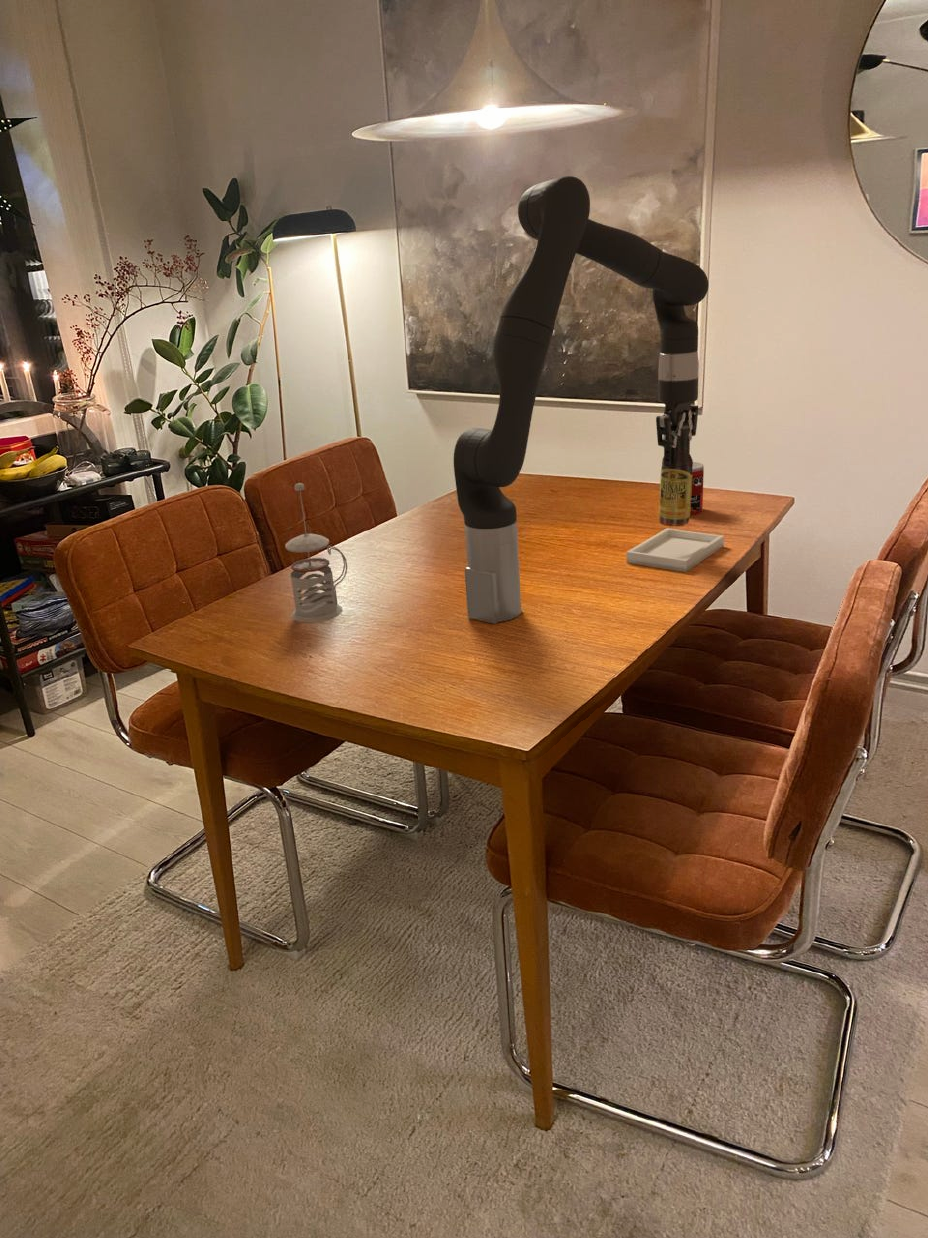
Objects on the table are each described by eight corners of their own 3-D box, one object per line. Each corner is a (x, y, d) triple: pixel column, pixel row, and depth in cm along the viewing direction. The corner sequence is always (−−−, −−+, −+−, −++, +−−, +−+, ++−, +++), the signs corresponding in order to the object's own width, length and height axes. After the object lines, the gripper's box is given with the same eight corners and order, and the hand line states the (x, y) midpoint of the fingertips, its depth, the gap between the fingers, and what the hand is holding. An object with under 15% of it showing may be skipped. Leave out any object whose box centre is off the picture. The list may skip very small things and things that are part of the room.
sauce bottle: (654, 526, 188) (655, 428, 181) (663, 518, 193) (664, 422, 186) (686, 529, 185) (688, 429, 178) (695, 520, 190) (697, 423, 183)
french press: (286, 609, 178) (266, 481, 169) (345, 597, 182) (329, 472, 172) (296, 626, 170) (276, 493, 160) (357, 614, 173) (341, 482, 164)
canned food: (667, 515, 218) (668, 469, 214) (670, 506, 225) (671, 461, 221) (701, 516, 216) (702, 469, 212) (703, 506, 223) (704, 461, 219)
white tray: (685, 572, 182) (686, 561, 181) (626, 562, 189) (626, 551, 189) (723, 546, 195) (724, 535, 194) (666, 538, 202) (666, 528, 201)
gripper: (679, 382, 171) (678, 472, 177) (712, 371, 181) (709, 456, 188) (643, 381, 176) (642, 469, 182) (677, 370, 186) (675, 453, 192)
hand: (676, 462), depth 185 cm, fingers closed on sauce bottle, 5 cm apart
